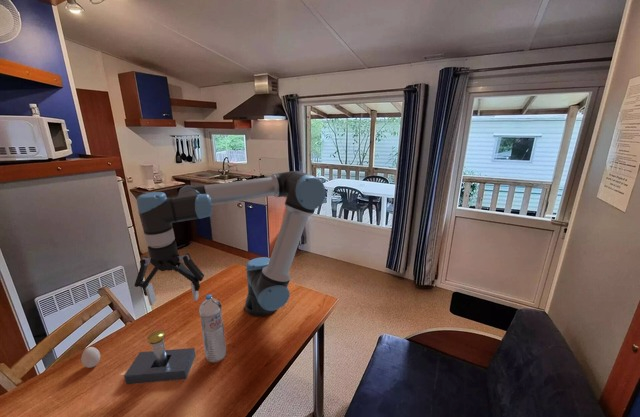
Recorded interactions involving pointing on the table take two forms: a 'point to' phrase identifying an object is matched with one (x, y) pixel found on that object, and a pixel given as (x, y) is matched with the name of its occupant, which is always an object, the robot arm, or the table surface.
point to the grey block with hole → (149, 372)
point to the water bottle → (212, 329)
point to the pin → (158, 347)
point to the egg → (90, 357)
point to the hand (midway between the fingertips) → (175, 300)
